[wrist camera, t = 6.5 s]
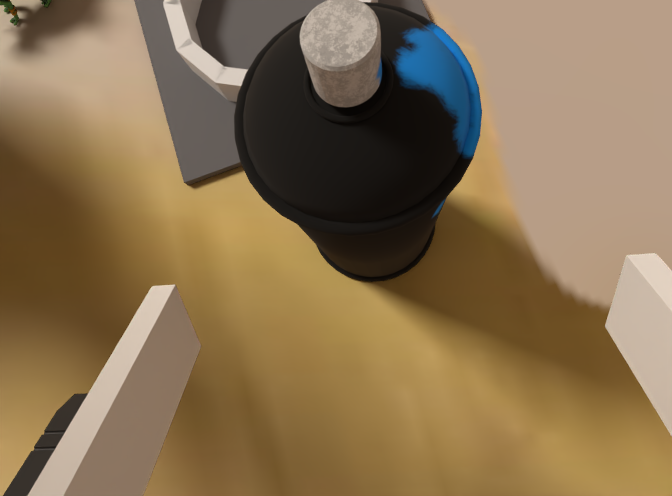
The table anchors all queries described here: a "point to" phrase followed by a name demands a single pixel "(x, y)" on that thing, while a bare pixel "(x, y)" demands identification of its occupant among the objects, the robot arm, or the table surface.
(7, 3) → the figurine
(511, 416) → the table surface
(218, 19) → the can holder
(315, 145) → the aerosol can
